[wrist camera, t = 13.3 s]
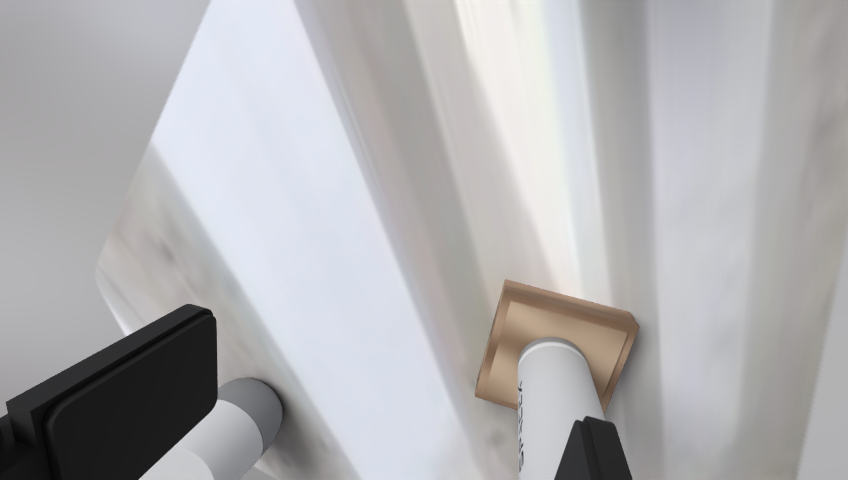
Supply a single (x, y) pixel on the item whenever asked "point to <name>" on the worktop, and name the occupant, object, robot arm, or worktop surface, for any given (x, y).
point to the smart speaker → (225, 436)
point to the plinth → (553, 317)
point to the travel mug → (551, 403)
